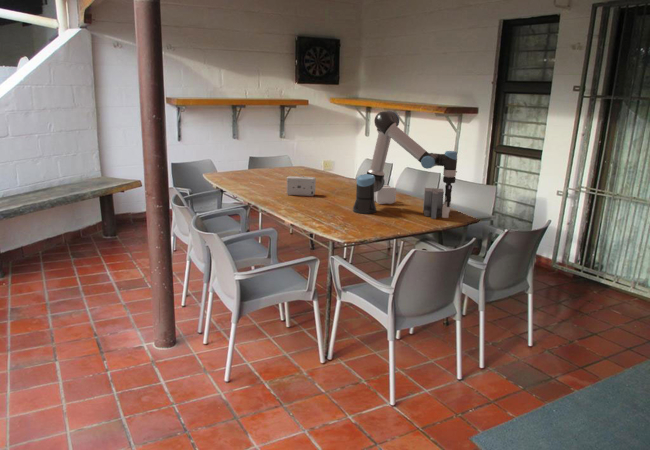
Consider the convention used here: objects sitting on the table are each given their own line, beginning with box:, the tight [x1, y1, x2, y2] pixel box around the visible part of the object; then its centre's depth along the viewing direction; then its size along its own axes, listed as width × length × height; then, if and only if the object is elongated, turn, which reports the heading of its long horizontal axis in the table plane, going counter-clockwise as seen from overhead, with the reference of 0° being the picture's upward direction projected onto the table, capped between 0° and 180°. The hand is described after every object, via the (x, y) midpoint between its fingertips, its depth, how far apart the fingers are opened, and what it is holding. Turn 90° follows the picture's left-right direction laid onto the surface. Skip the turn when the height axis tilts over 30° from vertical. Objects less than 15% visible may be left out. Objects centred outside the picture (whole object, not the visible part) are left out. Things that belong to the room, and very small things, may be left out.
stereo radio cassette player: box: [286, 168, 317, 197], centre depth 386 cm, size 21×8×20 cm, turn 84°
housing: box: [422, 187, 445, 220], centre depth 339 cm, size 12×29×16 cm, turn 171°
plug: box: [423, 203, 450, 219], centre depth 333 cm, size 15×4×8 cm, turn 79°
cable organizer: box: [374, 184, 397, 205], centre depth 368 cm, size 15×11×12 cm
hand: (446, 209), depth 332 cm, fingers open, 13 cm apart
